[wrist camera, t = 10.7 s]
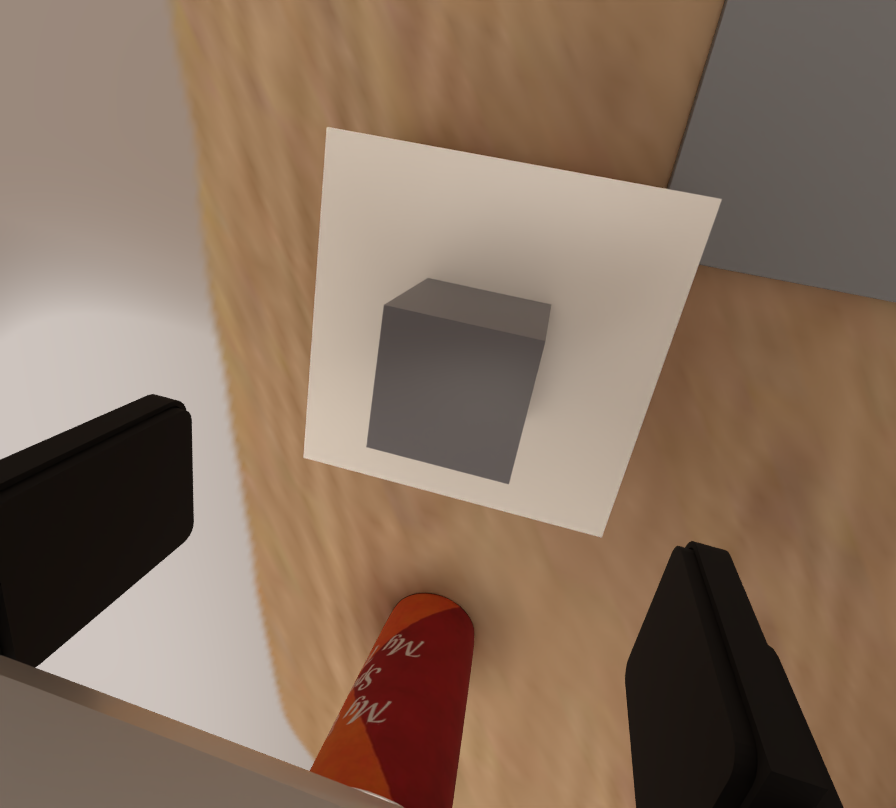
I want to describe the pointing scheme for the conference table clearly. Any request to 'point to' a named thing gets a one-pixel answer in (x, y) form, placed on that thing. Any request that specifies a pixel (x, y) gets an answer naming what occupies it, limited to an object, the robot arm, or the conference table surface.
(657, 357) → the cover
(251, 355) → the conference table surface
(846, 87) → the mat
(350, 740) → the paper cup
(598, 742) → the conference table surface
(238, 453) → the conference table surface
